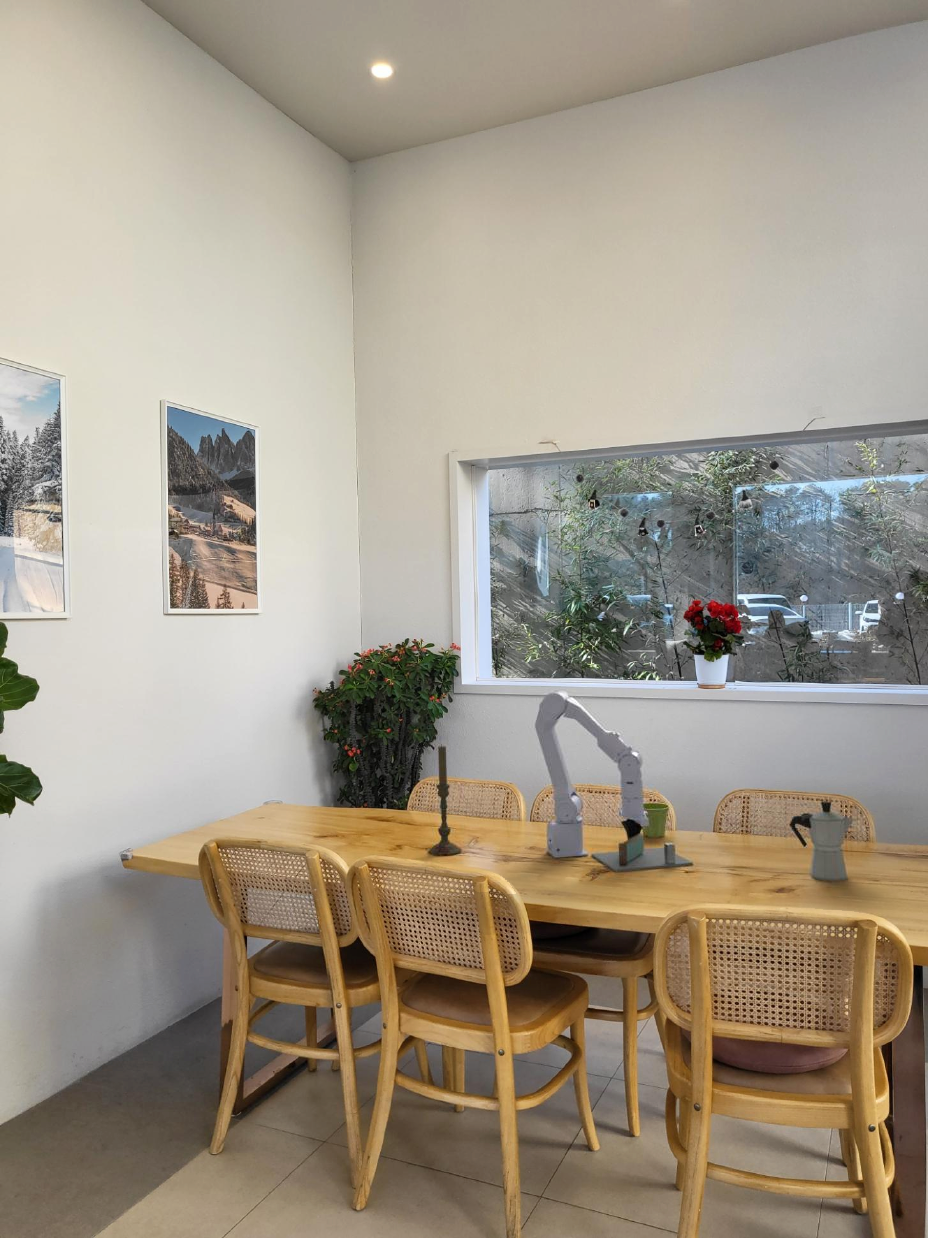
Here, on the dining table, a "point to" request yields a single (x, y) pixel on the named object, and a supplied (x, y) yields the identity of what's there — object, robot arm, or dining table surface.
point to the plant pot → (655, 819)
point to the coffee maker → (825, 842)
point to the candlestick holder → (443, 811)
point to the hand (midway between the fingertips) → (634, 847)
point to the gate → (634, 846)
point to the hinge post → (622, 854)
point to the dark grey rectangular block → (669, 853)
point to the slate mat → (640, 860)
